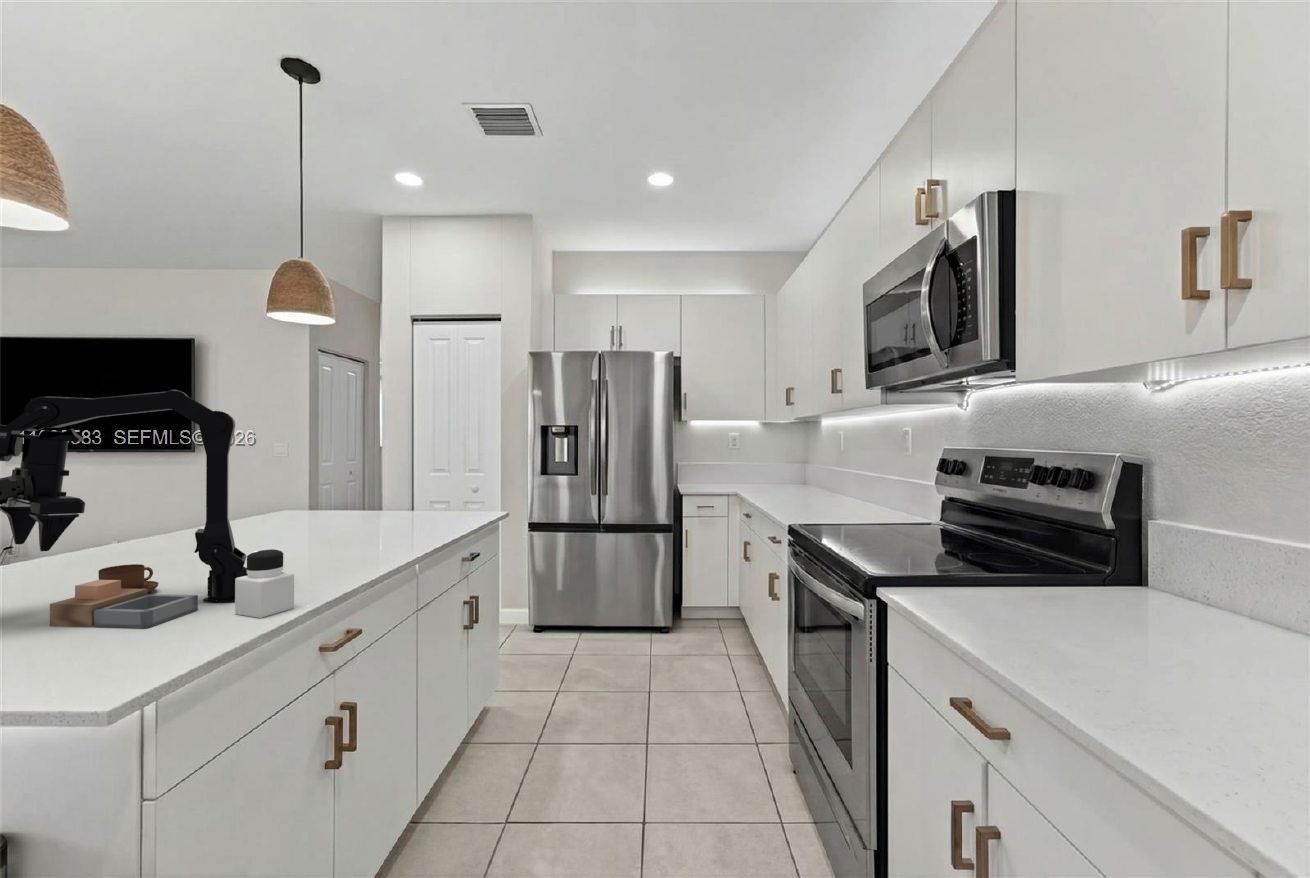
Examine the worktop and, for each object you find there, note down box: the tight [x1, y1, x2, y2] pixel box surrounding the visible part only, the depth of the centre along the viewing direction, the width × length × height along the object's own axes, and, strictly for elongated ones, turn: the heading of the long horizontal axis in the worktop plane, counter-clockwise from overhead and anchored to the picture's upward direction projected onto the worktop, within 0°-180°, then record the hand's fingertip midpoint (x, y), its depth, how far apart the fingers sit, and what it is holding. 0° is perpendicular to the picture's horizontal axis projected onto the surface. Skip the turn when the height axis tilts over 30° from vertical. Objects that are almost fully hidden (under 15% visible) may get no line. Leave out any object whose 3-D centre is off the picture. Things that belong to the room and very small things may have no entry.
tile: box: [74, 579, 121, 600], centre depth 111 cm, size 4×4×2 cm
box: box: [93, 593, 199, 630], centre depth 111 cm, size 10×11×3 cm
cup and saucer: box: [97, 563, 159, 593], centre depth 126 cm, size 12×12×6 cm
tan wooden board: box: [49, 588, 149, 628], centre depth 111 cm, size 8×11×4 cm
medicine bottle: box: [234, 548, 295, 619], centre depth 116 cm, size 7×7×12 cm
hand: (31, 547), depth 108 cm, fingers open, 9 cm apart
